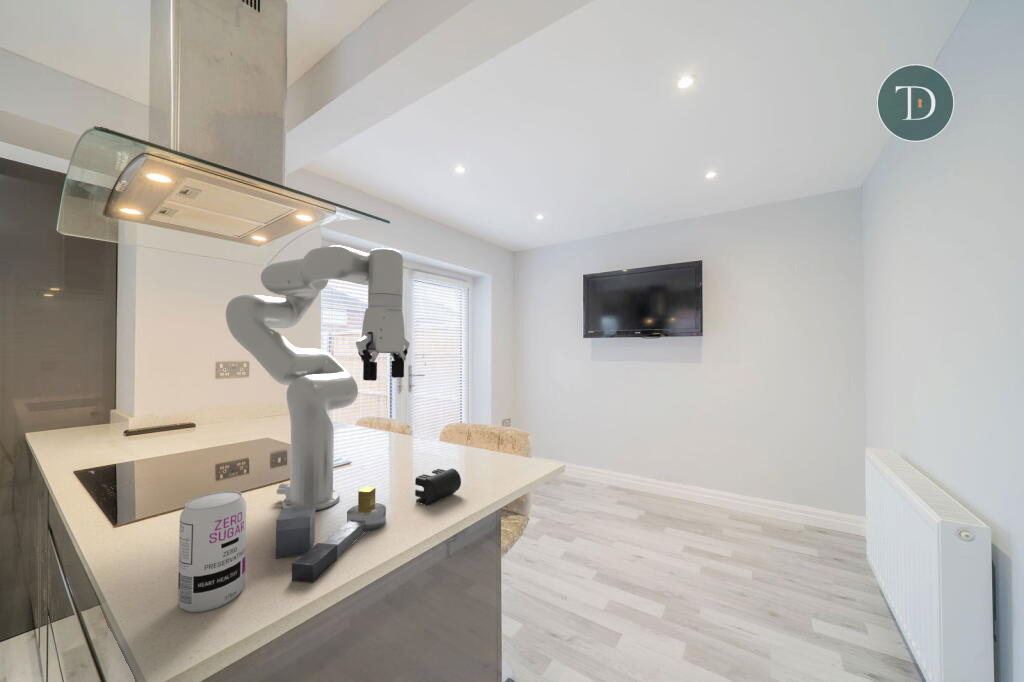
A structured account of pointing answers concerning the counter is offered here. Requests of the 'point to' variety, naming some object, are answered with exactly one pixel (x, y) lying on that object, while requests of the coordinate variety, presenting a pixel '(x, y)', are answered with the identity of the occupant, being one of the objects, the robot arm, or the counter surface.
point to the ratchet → (341, 537)
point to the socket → (295, 531)
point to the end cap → (437, 485)
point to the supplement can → (211, 550)
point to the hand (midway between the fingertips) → (384, 378)
